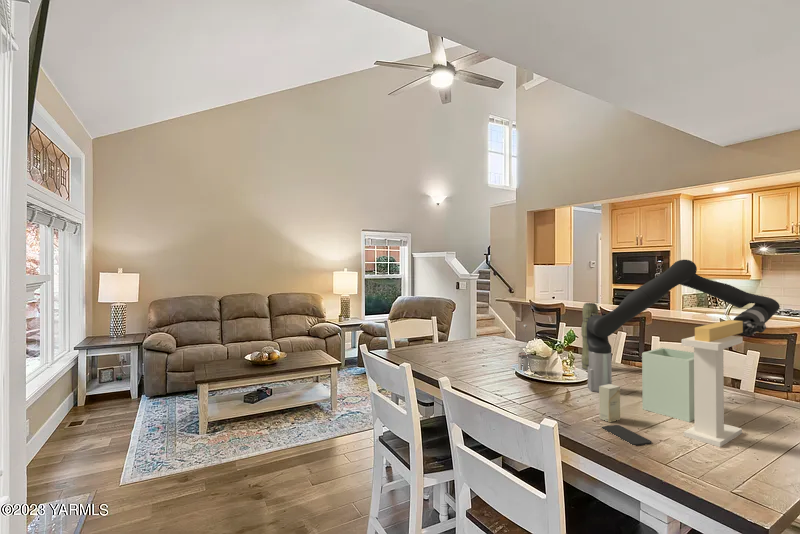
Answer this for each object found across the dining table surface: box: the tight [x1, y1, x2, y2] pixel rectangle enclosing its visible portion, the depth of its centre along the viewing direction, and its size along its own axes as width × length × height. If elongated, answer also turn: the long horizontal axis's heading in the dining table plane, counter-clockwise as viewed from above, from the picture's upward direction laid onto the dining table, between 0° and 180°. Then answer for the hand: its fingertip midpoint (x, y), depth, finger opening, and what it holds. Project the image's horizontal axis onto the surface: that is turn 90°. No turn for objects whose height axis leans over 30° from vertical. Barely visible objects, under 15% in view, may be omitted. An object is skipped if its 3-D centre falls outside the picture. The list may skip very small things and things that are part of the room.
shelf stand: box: [681, 335, 744, 448], centre depth 136 cm, size 20×10×32 cm, turn 123°
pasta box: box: [694, 319, 743, 342], centre depth 139 cm, size 28×4×4 cm, turn 123°
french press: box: [517, 324, 529, 371], centre depth 215 cm, size 10×12×25 cm
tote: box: [641, 347, 695, 423], centre depth 158 cm, size 16×16×22 cm
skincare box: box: [598, 384, 621, 423], centre depth 151 cm, size 6×4×12 cm
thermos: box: [580, 302, 599, 371], centre depth 221 cm, size 9×12×35 cm
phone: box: [601, 424, 653, 446], centre depth 137 cm, size 7×1×15 cm
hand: (732, 334), depth 150 cm, fingers open, 8 cm apart
